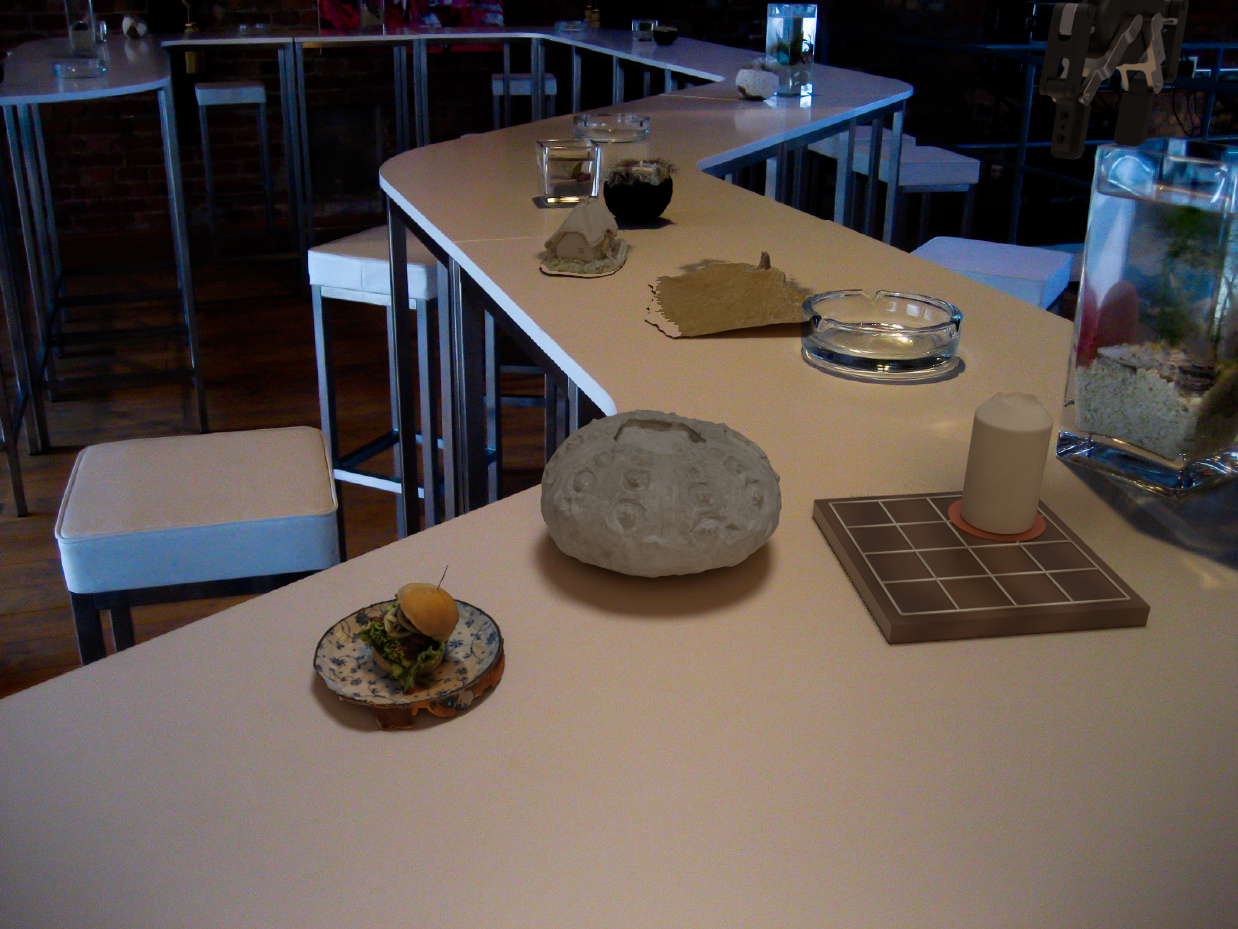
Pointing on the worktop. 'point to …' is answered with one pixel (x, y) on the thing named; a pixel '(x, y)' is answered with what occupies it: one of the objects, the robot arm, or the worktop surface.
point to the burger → (412, 655)
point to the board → (970, 571)
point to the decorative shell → (659, 495)
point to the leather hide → (728, 298)
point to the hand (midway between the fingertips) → (1098, 151)
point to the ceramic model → (586, 241)
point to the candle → (1006, 463)
